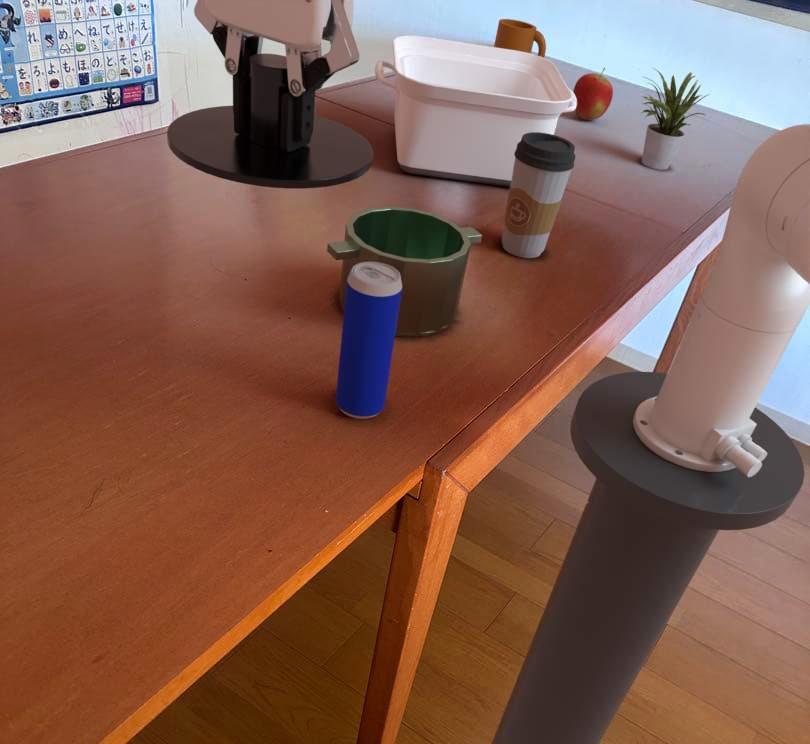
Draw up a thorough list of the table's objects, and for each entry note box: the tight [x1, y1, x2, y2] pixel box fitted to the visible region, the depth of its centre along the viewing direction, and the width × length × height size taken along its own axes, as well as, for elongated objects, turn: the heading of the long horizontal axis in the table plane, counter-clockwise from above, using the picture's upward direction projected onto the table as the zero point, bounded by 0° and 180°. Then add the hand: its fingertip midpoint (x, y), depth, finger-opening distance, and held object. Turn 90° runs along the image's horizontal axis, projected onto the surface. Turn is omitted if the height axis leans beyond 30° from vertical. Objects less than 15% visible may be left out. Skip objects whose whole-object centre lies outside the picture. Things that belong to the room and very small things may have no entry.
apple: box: [572, 67, 614, 121], centre depth 168 cm, size 8×8×10 cm
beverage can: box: [335, 262, 402, 420], centre depth 80 cm, size 5×5×15 cm
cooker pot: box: [326, 206, 483, 338], centre depth 99 cm, size 15×20×10 cm
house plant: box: [641, 67, 709, 171], centre depth 152 cm, size 14×14×16 cm
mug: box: [493, 18, 547, 58], centre depth 190 cm, size 9×12×9 cm
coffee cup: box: [501, 132, 576, 259], centre depth 115 cm, size 8×8×15 cm
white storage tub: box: [374, 34, 577, 188], centre depth 139 cm, size 34×29×15 cm
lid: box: [166, 53, 374, 190], centre depth 62 cm, size 16×16×7 cm
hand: (272, 136), depth 63 cm, fingers closed on lid, 3 cm apart
